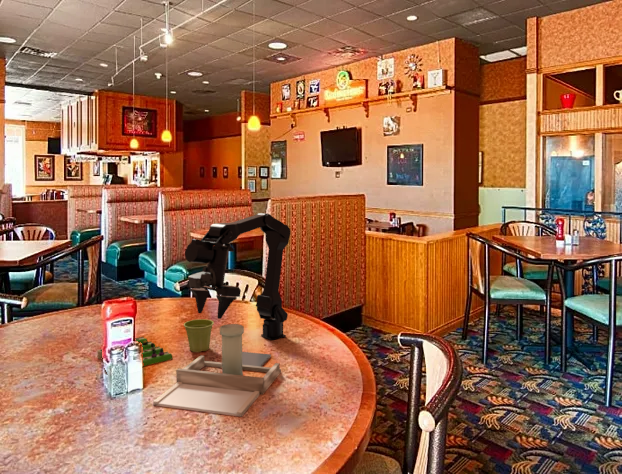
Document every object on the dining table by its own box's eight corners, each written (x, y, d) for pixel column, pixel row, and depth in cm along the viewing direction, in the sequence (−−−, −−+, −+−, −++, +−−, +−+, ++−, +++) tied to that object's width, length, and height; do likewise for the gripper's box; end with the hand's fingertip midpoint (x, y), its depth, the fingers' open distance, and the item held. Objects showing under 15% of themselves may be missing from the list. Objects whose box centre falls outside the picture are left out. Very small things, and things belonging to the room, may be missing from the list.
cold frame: (202, 363, 148) (202, 350, 148) (280, 372, 142) (280, 358, 142) (176, 384, 134) (176, 370, 133) (262, 394, 128) (262, 379, 127)
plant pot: (207, 355, 155) (206, 328, 154) (179, 353, 157) (178, 326, 156) (218, 345, 165) (218, 320, 164) (192, 343, 166) (191, 318, 165)
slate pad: (237, 353, 157) (237, 351, 157) (270, 356, 154) (270, 354, 154) (223, 366, 146) (223, 363, 146) (258, 370, 144) (258, 367, 144)
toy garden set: (173, 360, 153) (172, 345, 152) (109, 376, 140) (109, 360, 139) (142, 341, 170) (142, 328, 169) (83, 354, 157) (82, 340, 157)
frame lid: (178, 385, 133) (178, 381, 133) (259, 395, 127) (259, 391, 127) (153, 405, 121) (153, 401, 121) (241, 416, 116) (241, 412, 116)
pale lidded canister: (236, 369, 144) (235, 322, 142) (248, 376, 139) (248, 327, 137) (216, 375, 140) (215, 327, 138) (228, 382, 135) (227, 332, 133)
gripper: (176, 259, 151) (168, 310, 151) (216, 266, 140) (208, 322, 139) (205, 262, 160) (198, 310, 159) (245, 269, 148) (237, 321, 148)
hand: (209, 315), depth 151 cm, fingers open, 9 cm apart
